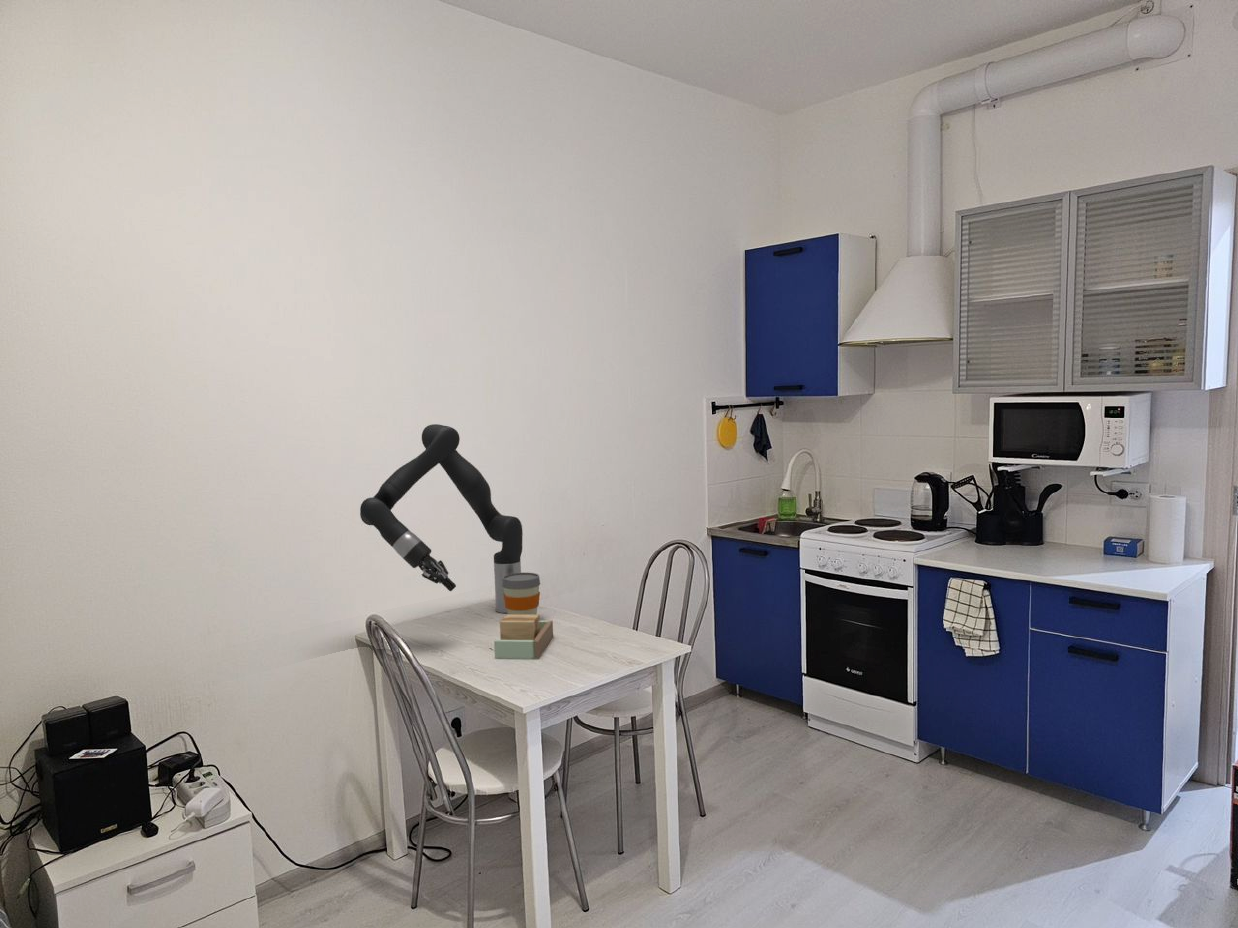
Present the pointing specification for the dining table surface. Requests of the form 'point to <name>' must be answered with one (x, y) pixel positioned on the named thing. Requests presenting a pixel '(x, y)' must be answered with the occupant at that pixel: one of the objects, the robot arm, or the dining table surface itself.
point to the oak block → (519, 627)
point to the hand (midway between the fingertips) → (453, 588)
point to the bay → (525, 644)
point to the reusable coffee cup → (521, 593)
